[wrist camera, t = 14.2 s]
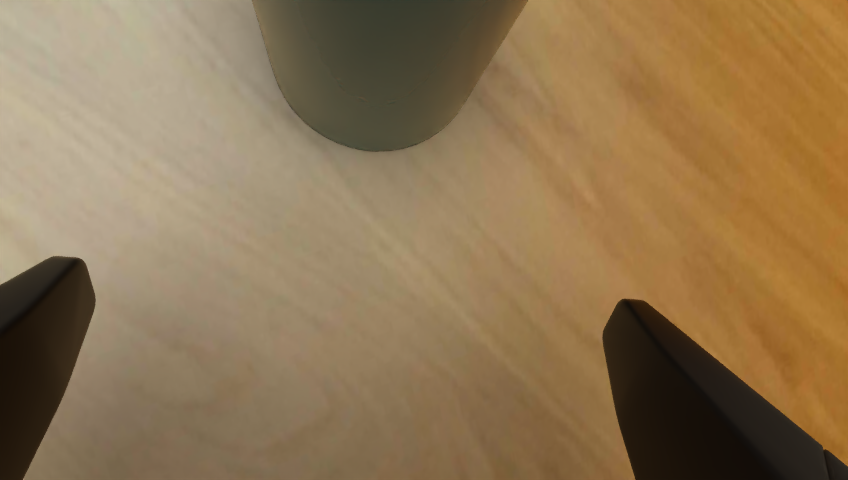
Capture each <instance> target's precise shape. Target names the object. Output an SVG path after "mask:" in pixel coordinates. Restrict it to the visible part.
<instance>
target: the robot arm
mask: <svg viewBox="0 0 848 480" xmlns="http://www.w3.org/2000/svg"><path fill="white" fill-rule="evenodd" d="M95 301H96V299H95V293H94V289H93V286H92V283H91V279H90V276H89V273H88V269H87V266H86V264H85V262H84V261H83V260H82V259H80V258H76V257H63V256H53V257H50V258H48V259H46V260H44V261H43V262H41V263H39V264H37V265H35V266H34V267H32V268H30V269H28V270H26V271H25V272H23V273H21V274H19V275H18V276H16V277H14V278H12V279H10V280H9V281H7V282H5V283H3V284H2V285H0V480H23V478H24V476H25V474H26V472H27V470H28V468H29V466H30V464H31V462H32V460H33V458H34V456H35V453H36V451H37V449H38V447H39V445H40V443H41V441H42V439H43V437H44V435H45V433H46V431H47V429H48V427H49V425H50V423H51V421H52V419H53V417H54V415H55V413H56V411H57V409H58V407H59V404H60V402H61V400H62V398H63V396H64V393H65V391H66V388H67V386H68V383H69V380H70V377H71V375H72V372H73V369H74V366H75V363H76V360H77V357H78V355H79V352H80V349H81V346H82V343H83V340H84V338H85V335H86V332H87V329H88V326H89V323H90V320H91V318H92V315H93V312H94V309H95ZM603 347H604V352H605V357H606V363H607V368H608V373H609V379H610V384H611V389H612V395H613V400H614V405H615V410H616V414H617V419H618V422H619V426H620V430H621V433H622V436H623V440H624V443H625V446H626V450H627V453H628V456H629V459H630V463H631V466H632V469H633V473H634V476H635V479H636V480H848V467H847V466H846V465H845V464H844V463H843V462H841V461H840V460H839V459H838V458H837V457H835V456H834V455H833V454H832V453H830V452H829V451H828V450H823V447H822V445H821V444H819V443H818V442H817V441H816V440H814V439H813V438H812V437H811V436H810V435H808V434H807V433H806V432H805V431H803V430H802V429H801V428H800V427H798V426H797V425H796V424H795V423H794V422H792V421H791V420H790V419H789V418H787V417H786V416H785V415H784V414H783V413H781V412H780V411H779V410H778V409H776V408H775V407H774V406H773V405H772V404H770V403H769V402H768V401H767V400H765V399H764V398H763V397H762V396H761V395H759V394H758V393H757V392H756V391H754V390H753V389H752V388H751V387H750V386H748V385H747V384H746V383H745V382H743V381H742V380H741V379H740V378H739V377H737V376H736V375H735V374H734V373H732V372H731V371H730V370H729V369H728V368H726V367H725V366H724V365H723V364H721V363H720V362H719V361H718V360H717V359H715V358H714V357H713V356H712V355H710V354H709V353H708V352H707V351H706V350H704V349H703V348H702V347H701V346H699V345H698V344H697V343H696V342H695V341H693V340H692V339H691V338H690V337H688V336H687V335H686V334H685V333H684V332H682V331H681V330H680V329H679V328H677V327H676V326H675V325H674V324H673V323H671V322H670V321H669V320H668V319H666V318H665V317H664V316H663V315H661V314H660V313H659V312H658V311H657V310H655V309H654V308H653V307H652V306H650V305H649V304H648V303H647V302H645V301H643V300H635V299H622V300H620V301H619V302H618V303H617V305H616V307H615V309H614V311H613V313H612V315H611V316H610V318H609V320H608V322H607V324H606V326H605V328H604V331H603Z"/></svg>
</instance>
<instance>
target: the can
mask: <svg viewBox="0 0 848 480" xmlns="http://www.w3.org/2000/svg"><path fill="white" fill-rule="evenodd" d="M252 2H253V6H254V9H255V12H256V16H257V19H258V22H259V26H260V29H261V32H262V36H263V39H264V42H265V46H266V49H267V52H268V56H269V59H270V62H271V66H272V69H273V72H274V75H275V78H276V81H277V84H278V86H279V88H280V90H281V92H282V94H283V96H284V98H285V99H286V101H287V102H288V104H289V105H290V107H291V108H292V109H293V110H294V112H295V113H296V114H297V115H298V116H299V117H300V118H301V119H302V120H303V121H304V122H305V123H306V124H307V125H309V126H310V127H311V128H312V129H314V130H315V131H317V132H318V133H320V134H321V135H323V136H324V137H326V138H328V139H330V140H332V141H334V142H337V143H339V144H342V145H345V146H348V147H352V148H356V149H361V150H369V151H391V150H397V149H402V148H406V147H409V146H413V145H416V144H418V143H420V142H422V141H425V140H427V139H429V138H430V137H432V136H433V135H435V134H437V133H438V132H439V131H441V130H442V129H443V128H444V127H445V126H446V125H448V124H449V123H450V122H451V120H452V119H453V118H454V117H455V116H456V115H457V114H458V112H459V111H460V109H461V108H462V106H463V105H464V103H465V101H466V100H467V98H468V97H469V95H470V93H471V92H472V90H473V88H474V87H475V85H476V84H477V82H478V80H479V79H480V77H481V76H482V74H483V72H484V71H485V69H486V68H487V66H488V64H489V63H490V61H491V60H492V58H493V56H494V55H495V53H496V52H497V50H498V48H499V47H500V45H501V43H502V42H503V40H504V39H505V37H506V35H507V34H508V32H509V31H510V29H511V27H512V26H513V24H514V23H515V21H516V19H517V18H518V16H519V15H520V13H521V11H522V10H523V8H524V6H525V5H526V3H527V2H528V0H252Z"/></svg>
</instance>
